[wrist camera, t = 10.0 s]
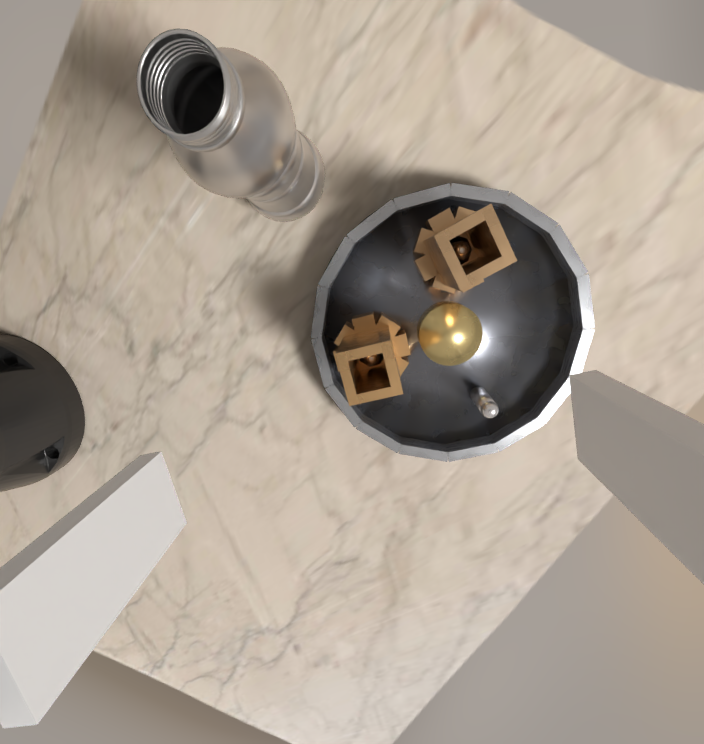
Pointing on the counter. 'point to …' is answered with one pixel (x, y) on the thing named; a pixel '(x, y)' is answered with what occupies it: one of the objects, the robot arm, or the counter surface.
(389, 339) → the hollow wooden square post
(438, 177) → the counter surface
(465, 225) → the tan square tube
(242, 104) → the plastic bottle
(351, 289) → the bowl
